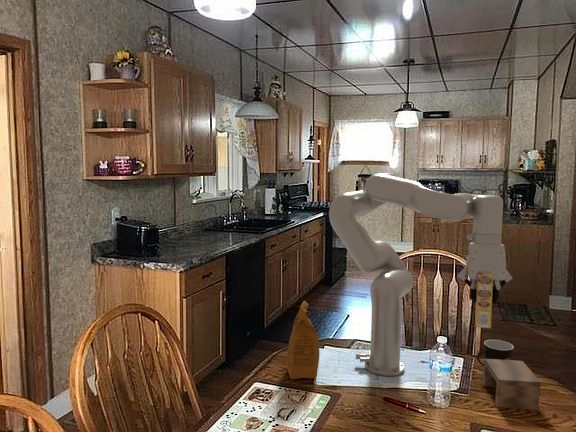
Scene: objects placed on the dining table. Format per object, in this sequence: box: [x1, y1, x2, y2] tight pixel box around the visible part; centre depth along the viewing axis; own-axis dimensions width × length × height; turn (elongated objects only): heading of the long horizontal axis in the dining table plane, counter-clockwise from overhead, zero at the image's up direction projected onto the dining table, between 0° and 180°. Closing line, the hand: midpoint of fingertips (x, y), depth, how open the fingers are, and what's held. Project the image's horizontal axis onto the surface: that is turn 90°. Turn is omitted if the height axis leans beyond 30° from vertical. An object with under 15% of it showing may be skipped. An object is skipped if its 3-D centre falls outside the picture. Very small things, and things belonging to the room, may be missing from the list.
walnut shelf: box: [482, 358, 542, 411], centre depth 145 cm, size 11×14×8 cm
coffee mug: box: [476, 339, 515, 367], centre depth 159 cm, size 12×9×10 cm
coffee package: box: [286, 300, 320, 380], centre depth 158 cm, size 10×12×22 cm
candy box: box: [474, 273, 494, 329], centre depth 143 cm, size 9×4×15 cm, turn 162°
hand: (483, 301), depth 144 cm, fingers closed on candy box, 4 cm apart
